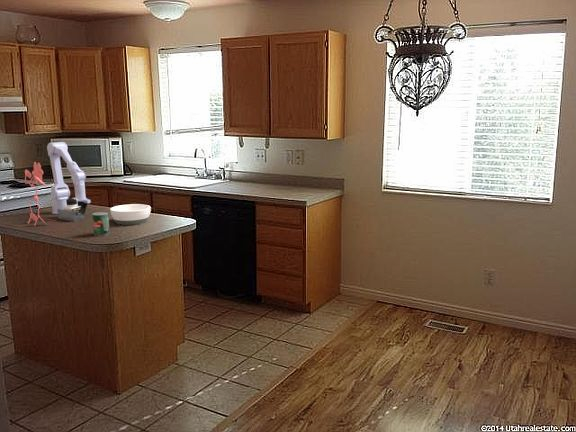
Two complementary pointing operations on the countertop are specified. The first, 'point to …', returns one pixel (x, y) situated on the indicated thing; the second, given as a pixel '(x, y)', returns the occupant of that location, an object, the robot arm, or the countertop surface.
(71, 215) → the bracket
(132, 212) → the bowl
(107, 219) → the canned tomato
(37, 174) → the figurine
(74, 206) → the medicine bottle
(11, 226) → the countertop surface
